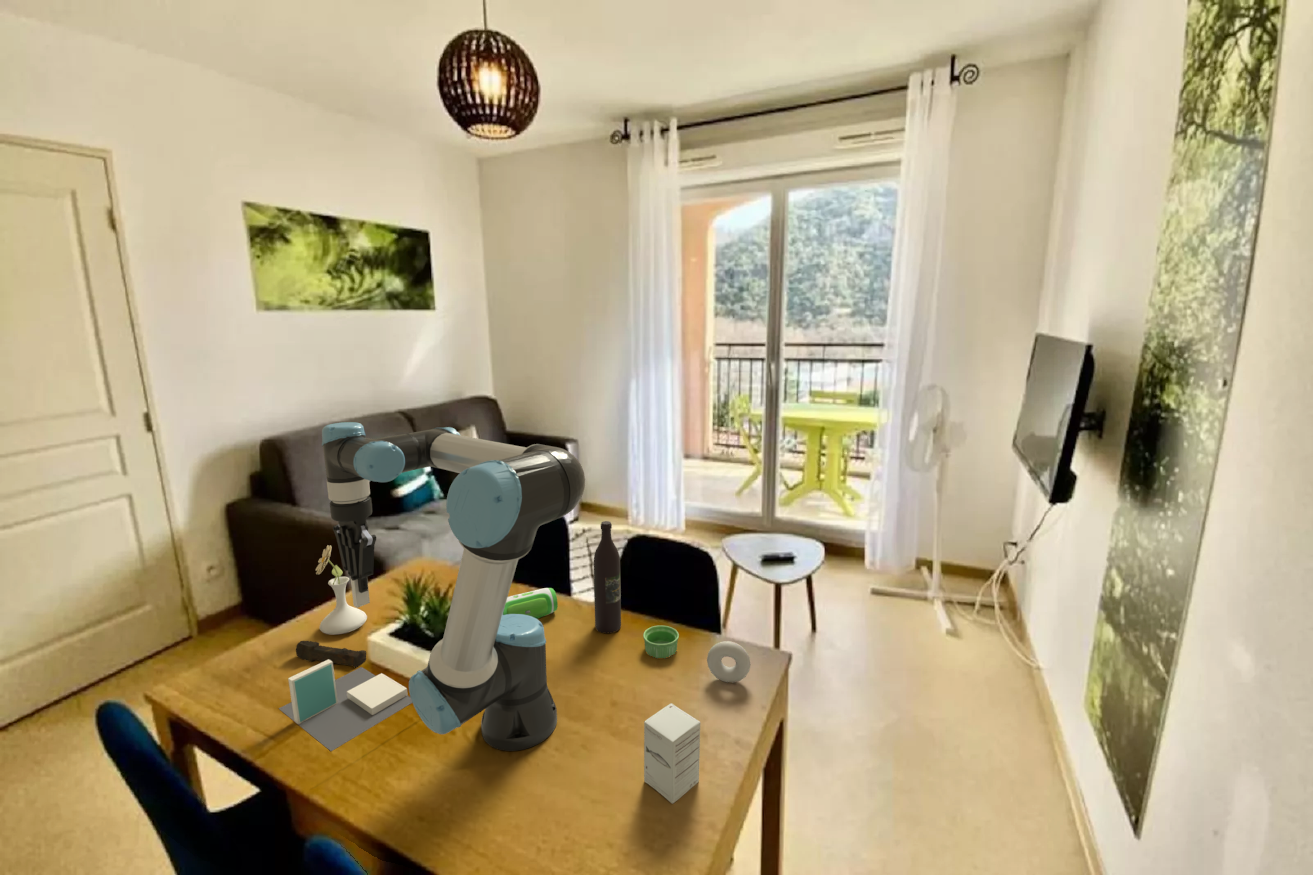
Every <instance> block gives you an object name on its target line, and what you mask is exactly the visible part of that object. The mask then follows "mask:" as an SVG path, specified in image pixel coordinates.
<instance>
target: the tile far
mask: <svg viewBox="0 0 1313 875" xmlns="http://www.w3.org/2000/svg"><path fill="white" fill-rule="evenodd" d="M407 695H408V688H407V687H406V686H404V685H402V684H400V683H399V682H397V681H395V680H394V679H393V678H391V677H389V676H387V675H386V674H384V673H382V672H381V673H379V674H377V675H375V677H373V678H371V679H370V680H368V681H366V682H364V683H362V684H360V685H358V686H356V687H354V688H352V689H350V690H349V691H347V698H348V699H350V700H351V701H353V702H354V703H356V704H357V705H358V706H360V707H361V708H363V709H364V710H366V711H367V712H369V713H370V714H371V715H374V714H376V713H377V712H379V711H381V710H383V709H384V708H386V707H388V706H390V705H391V704H393V703H395V702H396V701H398V700H400V699H402V698H403V697H405V696H407ZM408 696H409V695H408Z"/></svg>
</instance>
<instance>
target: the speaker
mask: <svg viewBox="0 0 1313 875" xmlns="http://www.w3.org/2000/svg"><path fill="white" fill-rule="evenodd" d="M558 606H559V604H558V598H557V593H556V591H555V590H554V588H552V587H544V588H537V589H536V590H535V589H534V590H531V591H528V592H527V591H526V592H522V593H518V594H514V595H510V596H508V597H507V601H506V604H505V608H504V611H503V615H506V614H523V615H528V616H532V617H534V618H536V619H538V620H539V619H541V618H542V617H546V616H548V615H550V614H553V613H555V612H556V611H557V610H558Z"/></svg>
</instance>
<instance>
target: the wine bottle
mask: <svg viewBox="0 0 1313 875" xmlns="http://www.w3.org/2000/svg"><path fill="white" fill-rule="evenodd" d="M612 526H613V525H612V522H611V521H609V520H605V521H603V520H602V521H601V523H600V530H601V535H600V536H601V537H600V541H599V544H598V546H597V547H596V549H595V551H594V556H593V588H594V591H593V592H594V594H593V595H594V596H593V597H594V599H593V600H594V627H595V630H596V631H597V632H599V633H602V634H613V633H615V632H618V631H619V630H620V629H621V627H622V604H621V602H622V599H621V596H622V595H621V593H622V591H621V590H622V589H621V558H620V557H621V556H620V552H619V551H618V548H617V546H616V545H615V543H614V541H613V537H612V528H613V527H612Z"/></svg>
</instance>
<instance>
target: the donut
mask: <svg viewBox="0 0 1313 875" xmlns="http://www.w3.org/2000/svg"><path fill="white" fill-rule="evenodd" d="M726 657H728V658H732V659H733V660H734V662H735V665H733V666H727V665H725V664H724V663H723V660H722V659H723V658H726ZM706 661H707V667H708V670H709V671H710V673H711V674H712V675H713V676H714V677H715V678H716V679H718V680H720V681H722V682H724V683H728V682H732V683H737V682H740V681H742V680H744V679H745V678H746V677H747V675H748V674H749V673H750V669H751V664H752V663H751V658H750V655H749V654H748V652H747V650H746V649H745V648H744V647H743V646H742V645H740V644H738V643H737V642H734V641H731V640H726V641H720V642H717V643H715V644H714V645H713V646H711V648H710V649H709V651H708V652H707V658H706Z"/></svg>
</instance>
